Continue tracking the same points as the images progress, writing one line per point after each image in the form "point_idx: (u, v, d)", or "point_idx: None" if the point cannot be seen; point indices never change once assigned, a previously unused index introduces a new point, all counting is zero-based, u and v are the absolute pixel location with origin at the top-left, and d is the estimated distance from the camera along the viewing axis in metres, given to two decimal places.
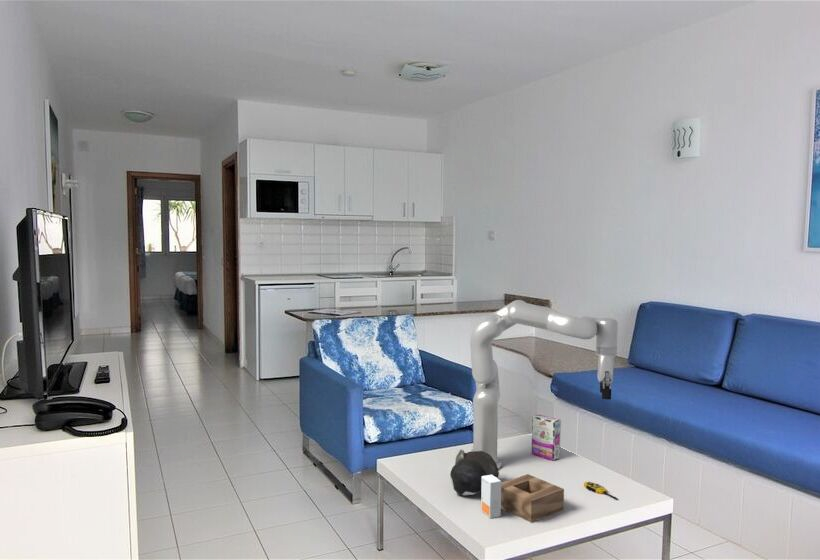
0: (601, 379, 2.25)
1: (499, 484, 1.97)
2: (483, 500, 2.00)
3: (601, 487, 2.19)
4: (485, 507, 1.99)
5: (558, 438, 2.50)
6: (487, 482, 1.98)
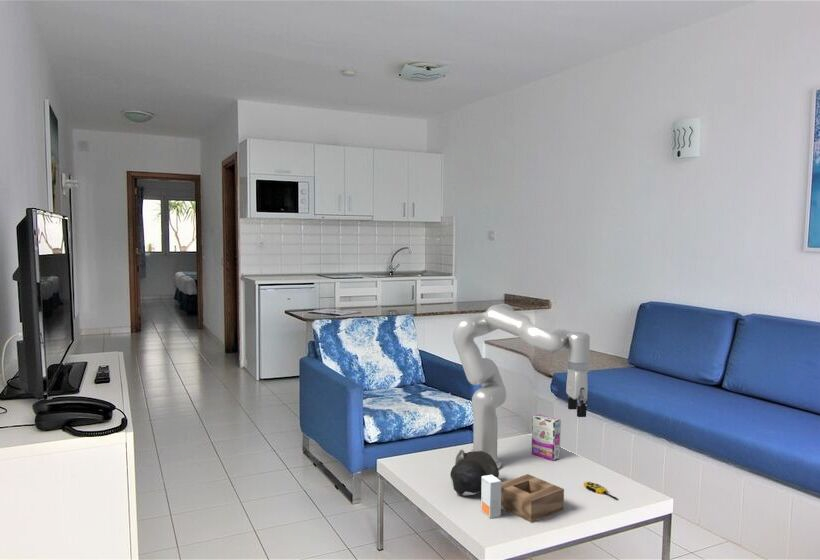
0: (576, 396, 2.16)
1: (499, 484, 1.97)
2: (483, 500, 2.00)
3: (601, 487, 2.19)
4: (485, 507, 1.99)
5: (558, 438, 2.50)
6: (487, 482, 1.98)
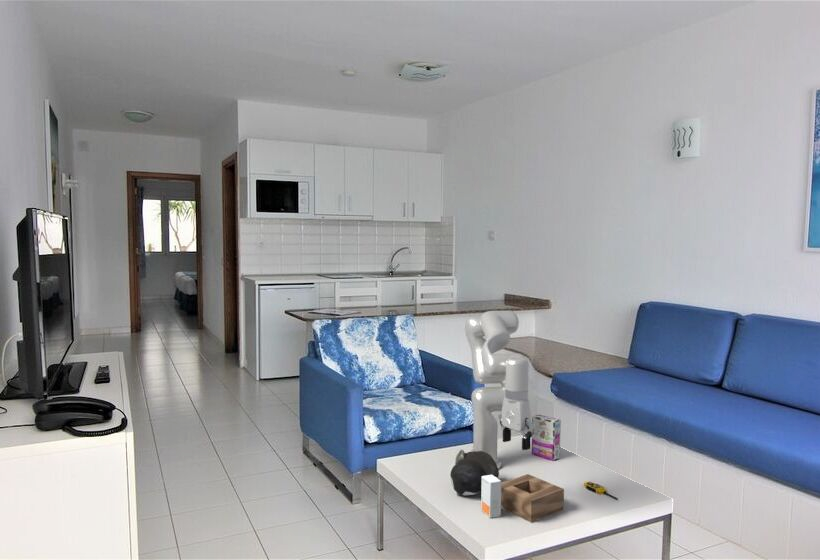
0: (522, 428, 1.99)
1: (499, 484, 1.97)
2: (483, 500, 2.00)
3: (601, 487, 2.19)
4: (485, 506, 1.99)
5: (558, 438, 2.50)
6: (487, 482, 1.98)
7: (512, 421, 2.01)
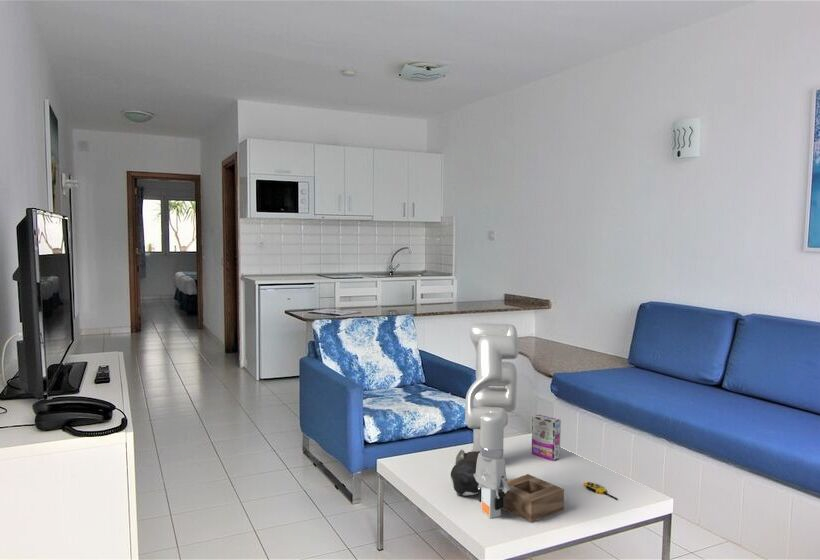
0: (497, 487, 1.94)
1: None
2: (483, 500, 2.00)
3: (601, 487, 2.19)
4: (485, 506, 1.99)
5: (558, 438, 2.50)
6: None
7: (487, 479, 1.97)
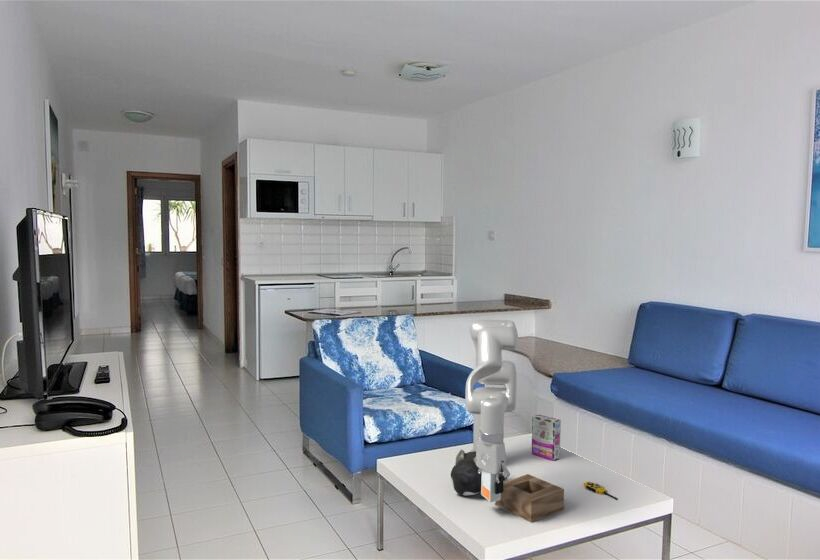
0: (498, 471, 1.95)
1: None
2: (483, 484, 2.01)
3: (601, 487, 2.19)
4: (485, 491, 2.00)
5: (558, 438, 2.50)
6: None
7: (487, 464, 1.97)
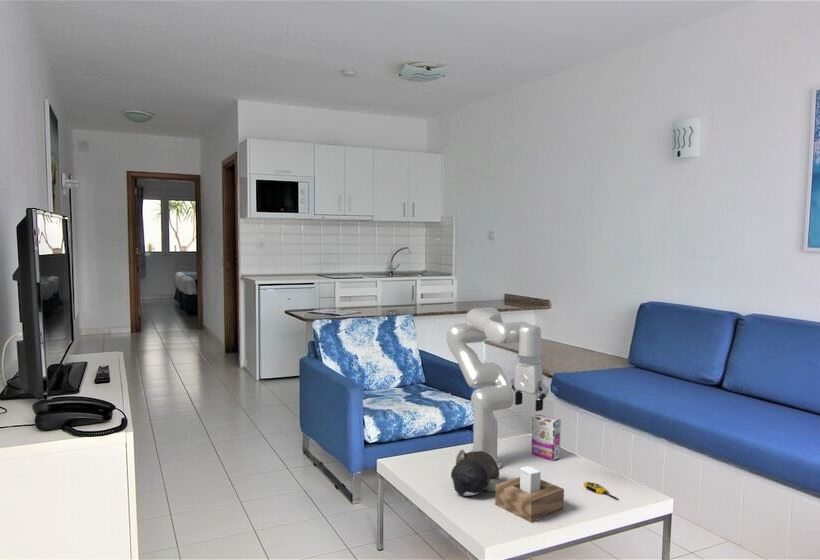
0: (536, 390, 2.12)
1: (538, 475, 2.02)
2: None
3: (601, 487, 2.19)
4: None
5: (558, 438, 2.50)
6: (527, 473, 2.03)
7: (526, 384, 2.14)
